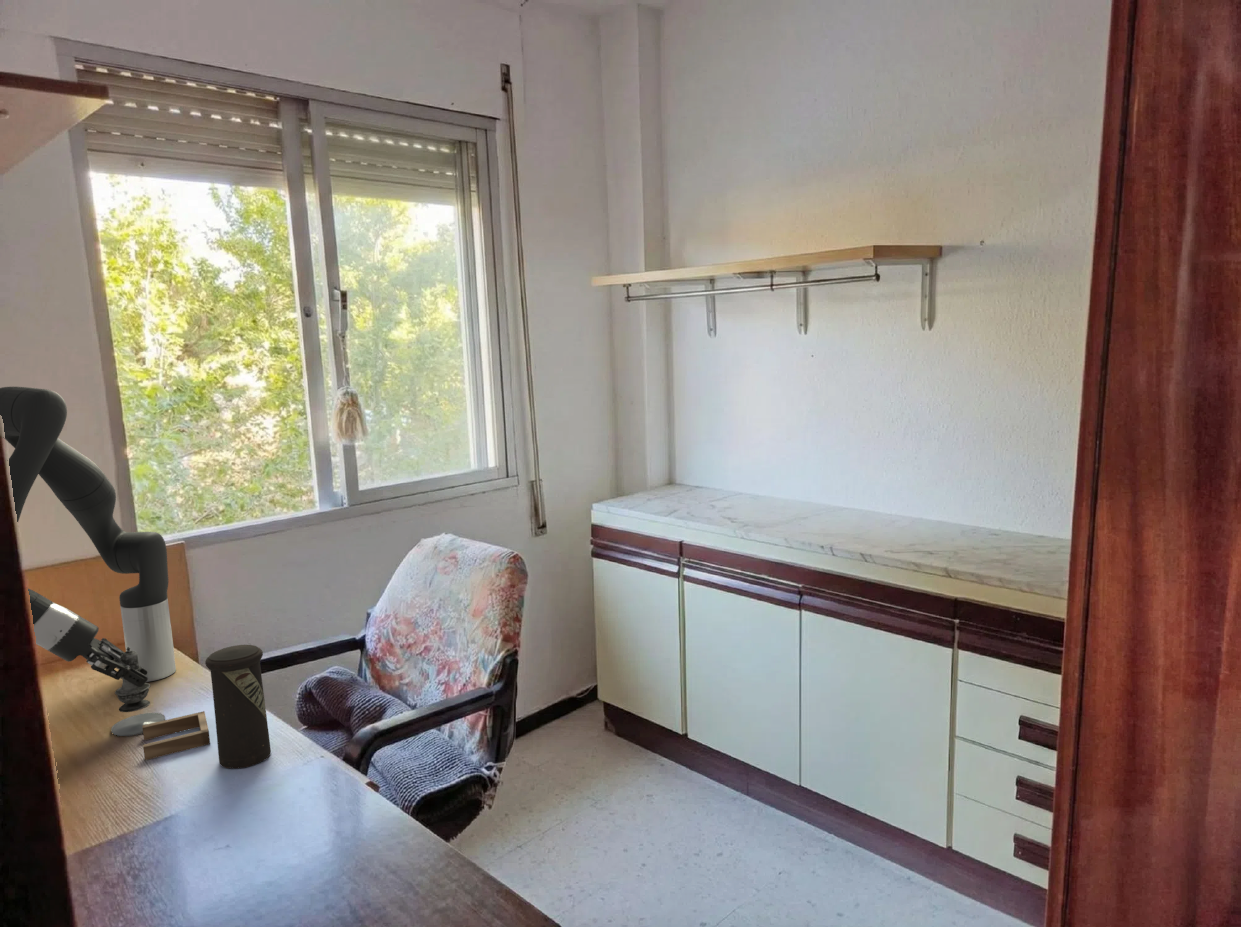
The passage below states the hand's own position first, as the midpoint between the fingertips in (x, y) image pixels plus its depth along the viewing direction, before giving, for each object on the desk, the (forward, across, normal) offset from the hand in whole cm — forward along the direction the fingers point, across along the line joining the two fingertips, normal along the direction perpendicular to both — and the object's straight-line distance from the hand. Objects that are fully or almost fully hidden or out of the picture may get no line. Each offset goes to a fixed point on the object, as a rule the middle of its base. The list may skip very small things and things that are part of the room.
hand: (144, 679), depth 154 cm
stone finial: (+2, 0, +5) cm, 6 cm away
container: (+17, -27, -3) cm, 32 cm away
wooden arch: (+9, -12, +4) cm, 16 cm away
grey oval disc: (+5, 0, +8) cm, 9 cm away
